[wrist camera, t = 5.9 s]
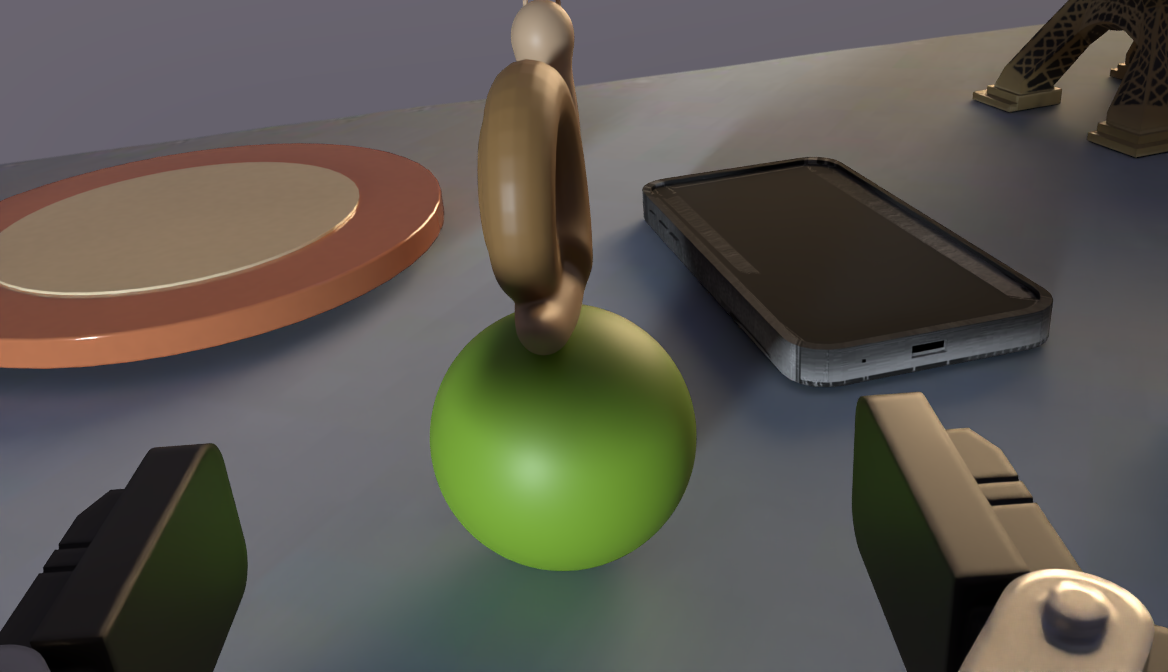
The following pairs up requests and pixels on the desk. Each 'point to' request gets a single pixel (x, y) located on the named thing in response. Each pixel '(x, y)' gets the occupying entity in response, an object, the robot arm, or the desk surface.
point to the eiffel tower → (1150, 73)
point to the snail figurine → (554, 348)
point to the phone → (842, 272)
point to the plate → (203, 249)
